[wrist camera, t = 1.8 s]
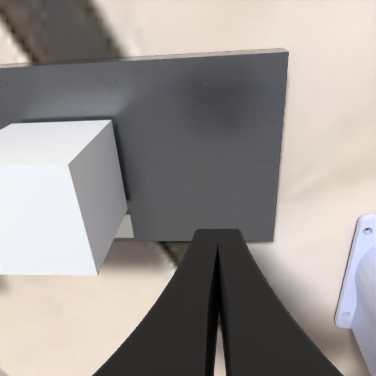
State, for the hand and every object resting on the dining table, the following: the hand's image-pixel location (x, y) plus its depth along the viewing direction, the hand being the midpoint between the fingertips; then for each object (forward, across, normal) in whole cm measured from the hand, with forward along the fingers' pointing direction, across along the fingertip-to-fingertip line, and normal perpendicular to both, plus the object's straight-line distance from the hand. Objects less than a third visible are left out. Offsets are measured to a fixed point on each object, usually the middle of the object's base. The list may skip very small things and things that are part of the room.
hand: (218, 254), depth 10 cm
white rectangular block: (+7, +7, +1) cm, 10 cm away
